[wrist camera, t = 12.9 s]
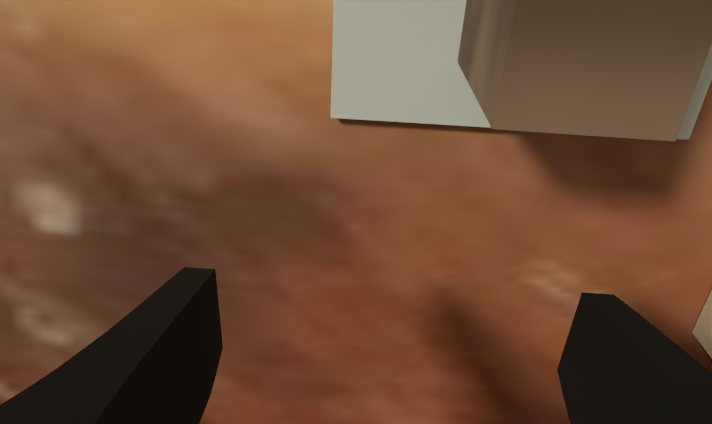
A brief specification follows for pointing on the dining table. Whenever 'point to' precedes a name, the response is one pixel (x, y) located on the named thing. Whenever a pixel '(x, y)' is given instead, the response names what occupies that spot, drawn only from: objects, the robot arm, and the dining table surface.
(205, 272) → the robot arm
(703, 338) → the wooden box
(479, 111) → the mat
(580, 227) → the dining table surface
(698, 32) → the block
